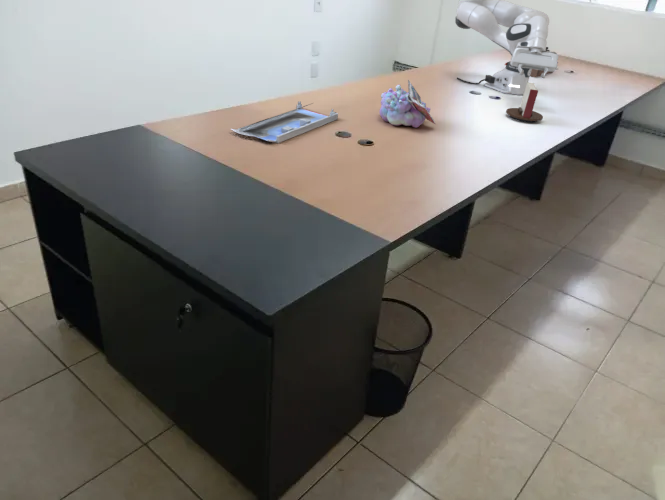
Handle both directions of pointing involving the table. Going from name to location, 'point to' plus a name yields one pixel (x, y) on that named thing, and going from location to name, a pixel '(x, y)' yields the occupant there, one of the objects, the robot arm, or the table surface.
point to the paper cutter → (287, 124)
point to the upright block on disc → (526, 105)
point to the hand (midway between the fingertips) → (531, 76)
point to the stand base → (523, 120)
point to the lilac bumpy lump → (404, 107)
